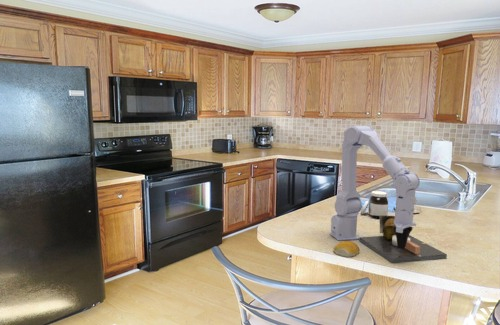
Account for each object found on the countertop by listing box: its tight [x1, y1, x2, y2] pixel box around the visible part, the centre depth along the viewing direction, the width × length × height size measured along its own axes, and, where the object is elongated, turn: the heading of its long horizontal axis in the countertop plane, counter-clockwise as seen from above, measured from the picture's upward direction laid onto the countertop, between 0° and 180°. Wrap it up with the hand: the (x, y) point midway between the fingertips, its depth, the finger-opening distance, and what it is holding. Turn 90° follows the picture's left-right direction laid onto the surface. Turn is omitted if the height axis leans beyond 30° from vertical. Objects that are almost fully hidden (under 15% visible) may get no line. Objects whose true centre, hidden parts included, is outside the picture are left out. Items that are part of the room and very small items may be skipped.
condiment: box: [378, 215, 395, 239], centre depth 144 cm, size 7×8×12 cm
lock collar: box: [392, 235, 420, 254], centre depth 132 cm, size 12×6×2 cm, turn 13°
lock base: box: [358, 234, 448, 264], centre depth 135 cm, size 21×21×6 cm
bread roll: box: [333, 240, 360, 258], centre depth 131 cm, size 8×9×4 cm
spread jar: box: [360, 190, 389, 220], centre depth 177 cm, size 12×11×12 cm
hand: (401, 247), depth 128 cm, fingers closed
